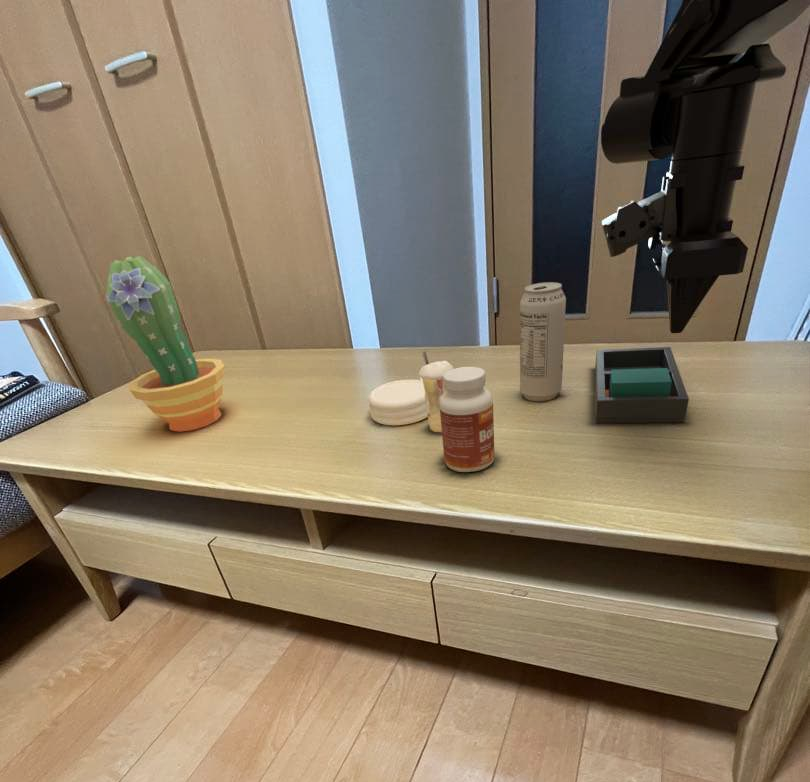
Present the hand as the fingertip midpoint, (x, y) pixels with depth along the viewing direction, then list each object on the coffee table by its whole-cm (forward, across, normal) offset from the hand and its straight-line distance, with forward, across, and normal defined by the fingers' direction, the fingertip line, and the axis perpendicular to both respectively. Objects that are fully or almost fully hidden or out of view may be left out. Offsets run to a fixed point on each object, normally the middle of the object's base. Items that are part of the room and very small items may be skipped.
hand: (675, 332), depth 56 cm
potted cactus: (+12, -5, -72) cm, 73 cm away
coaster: (+12, -7, -35) cm, 38 cm away
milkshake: (+12, -2, -28) cm, 31 cm away
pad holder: (+12, -13, -2) cm, 18 cm away
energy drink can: (+12, -13, -15) cm, 23 cm away
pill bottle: (+12, +8, -22) cm, 26 cm away
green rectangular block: (+11, -8, -2) cm, 14 cm away
